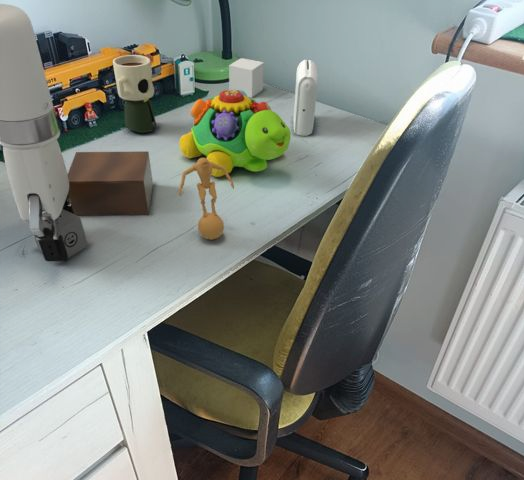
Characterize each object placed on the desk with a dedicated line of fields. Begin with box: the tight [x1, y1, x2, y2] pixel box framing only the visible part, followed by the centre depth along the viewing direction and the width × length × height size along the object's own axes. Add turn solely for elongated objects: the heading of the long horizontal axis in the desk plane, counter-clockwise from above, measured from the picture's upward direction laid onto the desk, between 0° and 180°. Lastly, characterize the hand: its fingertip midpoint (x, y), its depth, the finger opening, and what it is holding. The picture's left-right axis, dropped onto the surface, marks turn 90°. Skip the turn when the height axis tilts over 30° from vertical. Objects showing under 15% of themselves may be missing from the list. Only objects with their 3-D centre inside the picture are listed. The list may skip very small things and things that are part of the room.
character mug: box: [112, 54, 157, 133], centre depth 102 cm, size 11×7×13 cm, turn 161°
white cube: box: [228, 57, 265, 99], centre depth 121 cm, size 6×6×6 cm
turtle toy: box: [178, 89, 291, 178], centre depth 94 cm, size 17×23×12 cm
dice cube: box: [32, 209, 89, 263], centre depth 75 cm, size 5×5×5 cm
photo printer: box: [292, 59, 319, 137], centre depth 105 cm, size 10×4×12 cm, turn 177°
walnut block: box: [67, 150, 154, 217], centre depth 85 cm, size 12×10×6 cm
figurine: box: [178, 157, 235, 241], centre depth 77 cm, size 8×6×12 cm
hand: (62, 243), depth 77 cm, fingers closed on dice cube, 7 cm apart
